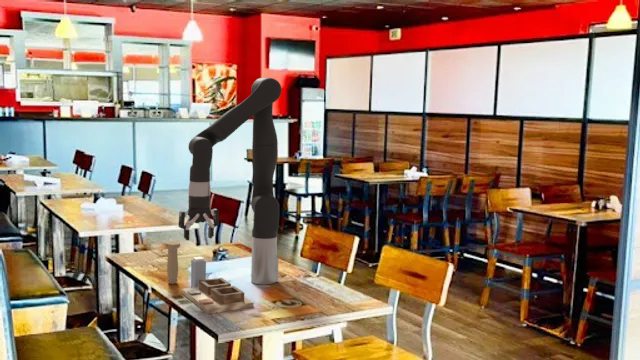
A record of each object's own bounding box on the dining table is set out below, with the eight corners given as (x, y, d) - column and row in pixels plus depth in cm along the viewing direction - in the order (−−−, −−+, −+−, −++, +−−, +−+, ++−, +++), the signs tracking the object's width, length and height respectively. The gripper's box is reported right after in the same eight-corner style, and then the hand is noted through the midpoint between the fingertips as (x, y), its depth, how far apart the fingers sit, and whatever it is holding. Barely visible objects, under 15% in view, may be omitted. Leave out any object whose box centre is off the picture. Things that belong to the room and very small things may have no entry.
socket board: (224, 287, 235) (224, 275, 234) (253, 306, 215) (253, 293, 214) (181, 293, 227) (182, 280, 226) (207, 313, 206) (207, 300, 206)
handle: (169, 286, 234) (170, 245, 232) (162, 281, 239) (162, 241, 237) (182, 284, 237) (182, 243, 235) (175, 279, 242) (175, 240, 240)
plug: (201, 285, 237) (201, 256, 235) (205, 288, 233) (206, 258, 232) (191, 286, 235) (191, 257, 233) (194, 289, 231) (195, 259, 230)
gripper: (214, 191, 236) (213, 235, 239) (176, 193, 229) (175, 238, 231) (222, 194, 230) (221, 239, 232) (183, 196, 223) (183, 242, 225)
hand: (198, 239), depth 232 cm, fingers open, 8 cm apart
